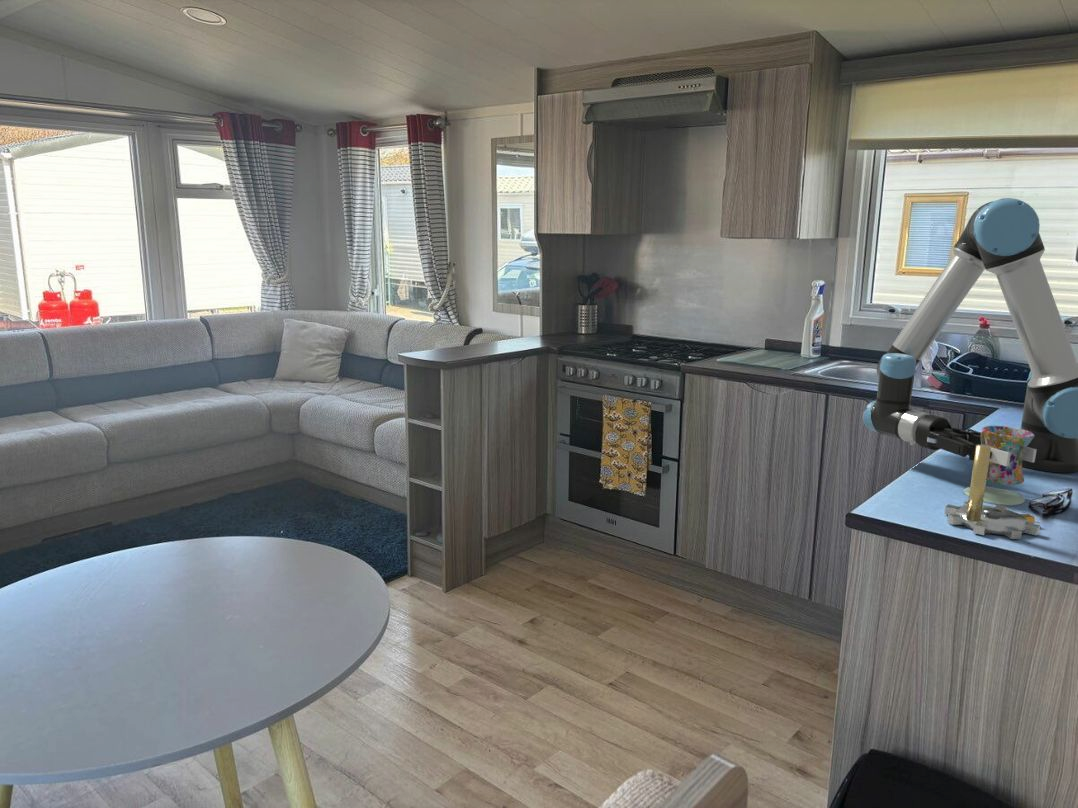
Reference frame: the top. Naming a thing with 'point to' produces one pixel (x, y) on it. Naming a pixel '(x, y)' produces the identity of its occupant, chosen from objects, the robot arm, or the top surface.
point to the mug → (1009, 442)
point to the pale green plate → (1000, 496)
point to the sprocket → (988, 507)
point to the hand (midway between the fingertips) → (1021, 457)
